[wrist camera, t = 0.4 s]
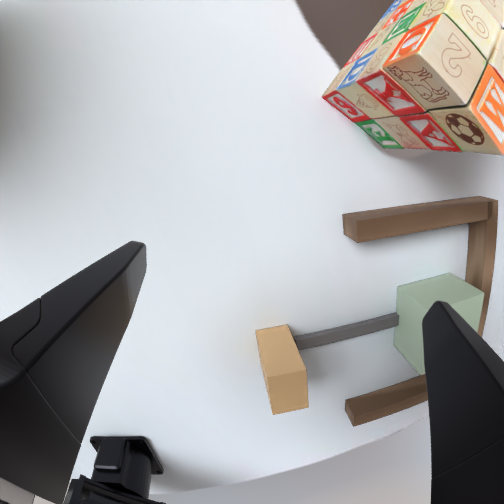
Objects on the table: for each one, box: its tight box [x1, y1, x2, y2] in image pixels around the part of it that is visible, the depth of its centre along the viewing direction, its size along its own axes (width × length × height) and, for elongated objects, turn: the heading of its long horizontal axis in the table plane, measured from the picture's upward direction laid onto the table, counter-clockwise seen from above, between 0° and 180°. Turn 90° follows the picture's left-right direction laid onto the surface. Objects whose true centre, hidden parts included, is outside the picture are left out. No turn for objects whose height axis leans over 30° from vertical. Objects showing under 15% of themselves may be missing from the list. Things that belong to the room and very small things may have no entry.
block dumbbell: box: [256, 273, 484, 415], centre depth 23 cm, size 6×18×6 cm, turn 98°
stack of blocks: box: [322, 0, 504, 155], centre depth 14 cm, size 21×6×12 cm, turn 146°
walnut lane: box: [342, 196, 498, 427], centre depth 25 cm, size 20×14×2 cm
